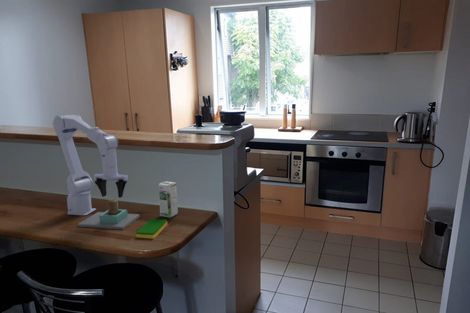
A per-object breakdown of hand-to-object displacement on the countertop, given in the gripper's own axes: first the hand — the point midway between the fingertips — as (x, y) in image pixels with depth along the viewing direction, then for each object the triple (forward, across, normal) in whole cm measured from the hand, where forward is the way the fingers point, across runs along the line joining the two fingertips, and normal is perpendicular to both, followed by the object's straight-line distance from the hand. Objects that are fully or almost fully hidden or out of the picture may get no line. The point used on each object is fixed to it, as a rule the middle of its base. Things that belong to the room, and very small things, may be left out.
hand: (112, 196), depth 144 cm
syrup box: (+10, +21, +9) cm, 25 cm away
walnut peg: (+9, +1, -2) cm, 10 cm away
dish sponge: (+11, +21, -8) cm, 25 cm away
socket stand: (+10, -1, -2) cm, 11 cm away
